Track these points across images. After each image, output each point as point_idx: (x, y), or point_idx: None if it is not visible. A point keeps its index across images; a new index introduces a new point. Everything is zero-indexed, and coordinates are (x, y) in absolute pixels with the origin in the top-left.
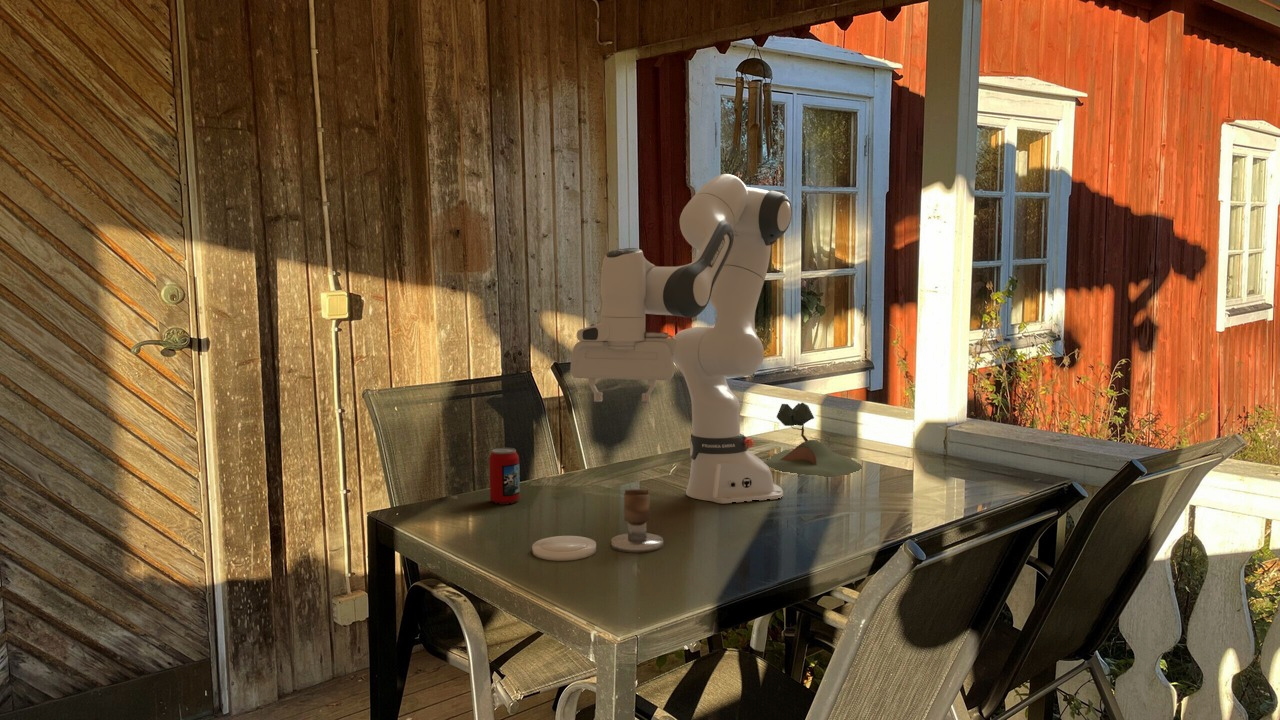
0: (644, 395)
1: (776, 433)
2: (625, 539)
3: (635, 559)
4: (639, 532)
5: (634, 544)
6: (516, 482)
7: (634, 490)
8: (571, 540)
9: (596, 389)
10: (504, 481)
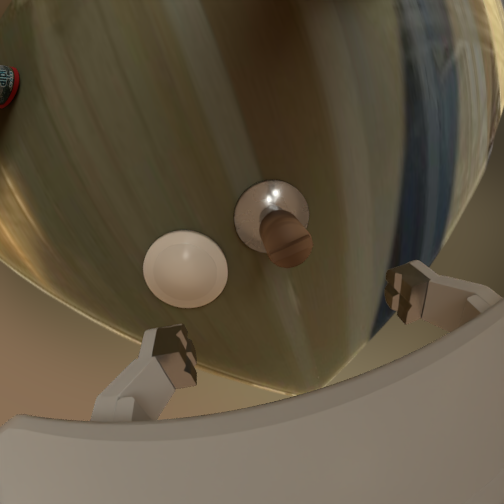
0: (412, 317)
1: None
2: (255, 221)
3: (285, 270)
4: None
5: None
6: (2, 83)
7: (289, 255)
8: (186, 259)
9: (155, 386)
10: None
